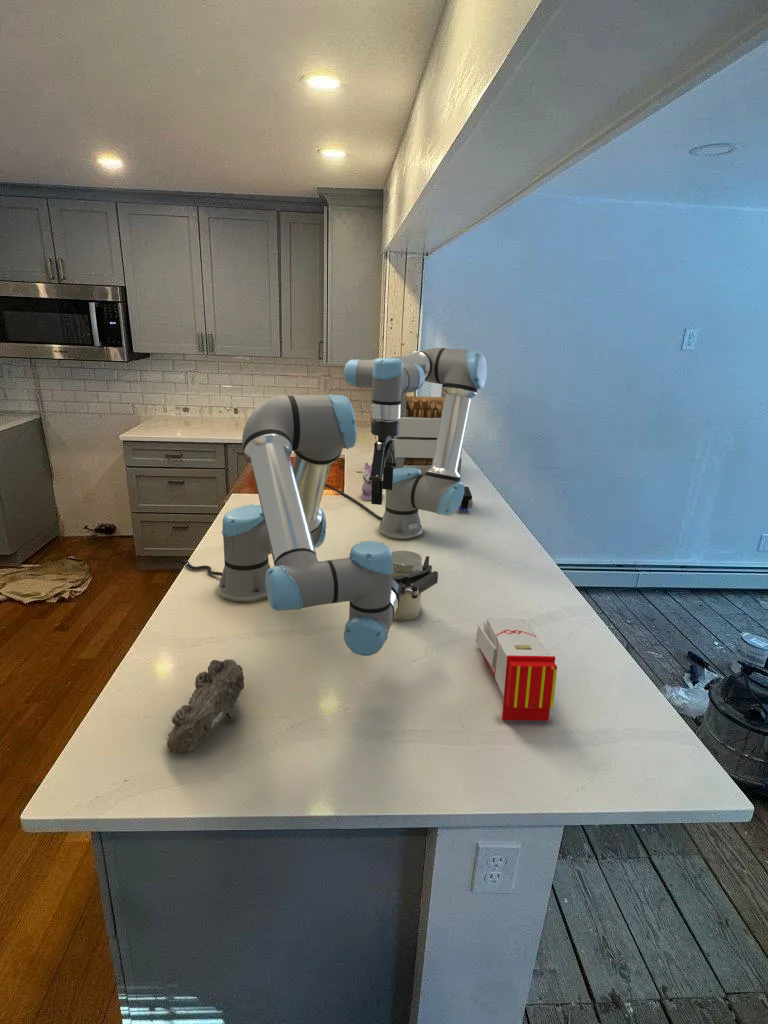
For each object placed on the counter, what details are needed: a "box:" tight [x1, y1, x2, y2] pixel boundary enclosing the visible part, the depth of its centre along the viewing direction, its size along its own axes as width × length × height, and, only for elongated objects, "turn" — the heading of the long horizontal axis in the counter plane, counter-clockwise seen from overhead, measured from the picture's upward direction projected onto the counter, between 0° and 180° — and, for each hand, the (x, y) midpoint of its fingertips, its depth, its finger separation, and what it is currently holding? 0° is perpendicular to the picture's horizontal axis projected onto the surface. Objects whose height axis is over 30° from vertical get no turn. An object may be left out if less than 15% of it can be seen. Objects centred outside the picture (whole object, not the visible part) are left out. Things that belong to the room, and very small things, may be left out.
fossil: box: [166, 658, 245, 754], centre depth 106 cm, size 22×10×15 cm
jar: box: [392, 550, 423, 622], centre depth 146 cm, size 10×10×16 cm
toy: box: [475, 618, 558, 722], centre depth 122 cm, size 12×13×30 cm
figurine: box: [361, 461, 377, 501], centre depth 234 cm, size 9×10×15 cm
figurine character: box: [458, 486, 474, 513], centre depth 227 cm, size 7×8×15 cm
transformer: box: [393, 389, 463, 476], centre depth 268 cm, size 34×33×41 cm
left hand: (398, 557), depth 133 cm, fingers open, 13 cm apart
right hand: (382, 496), depth 155 cm, fingers open, 13 cm apart
